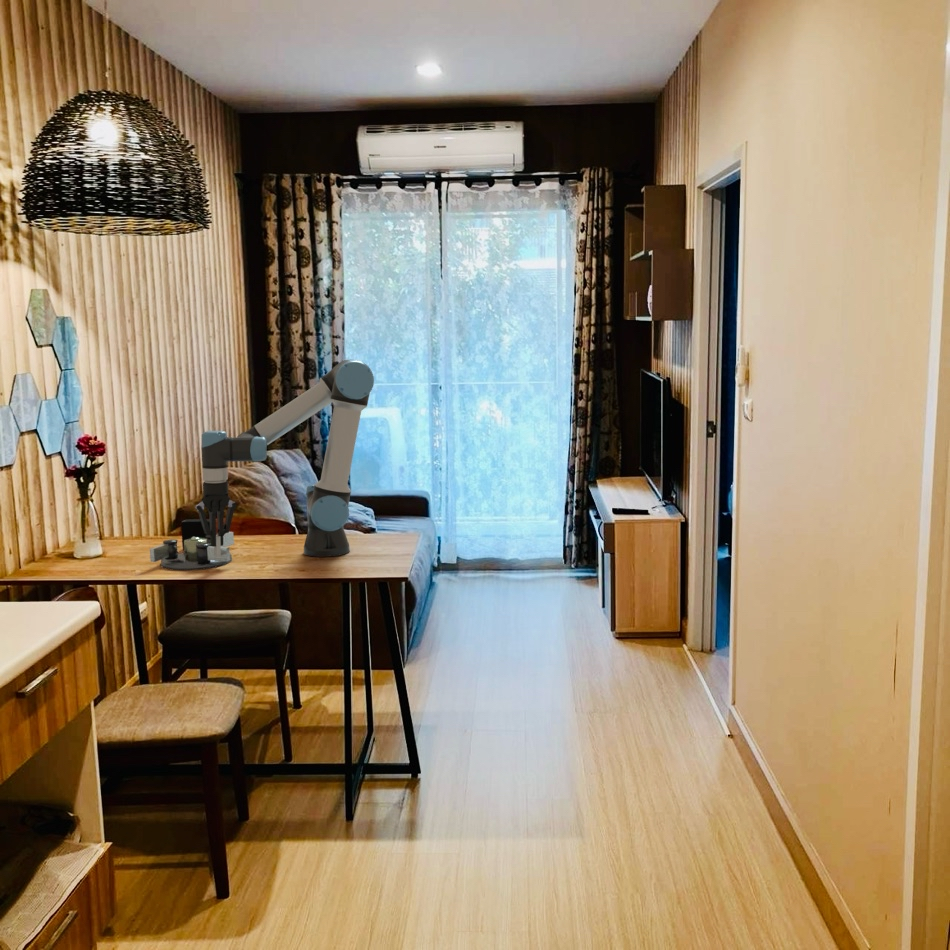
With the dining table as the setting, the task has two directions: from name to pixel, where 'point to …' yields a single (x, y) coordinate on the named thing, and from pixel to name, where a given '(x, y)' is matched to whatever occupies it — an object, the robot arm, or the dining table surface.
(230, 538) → the knob
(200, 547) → the knob
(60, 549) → the dining table surface
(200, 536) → the electronic device
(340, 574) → the dining table surface
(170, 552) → the knob
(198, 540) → the tribrach
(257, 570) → the dining table surface
